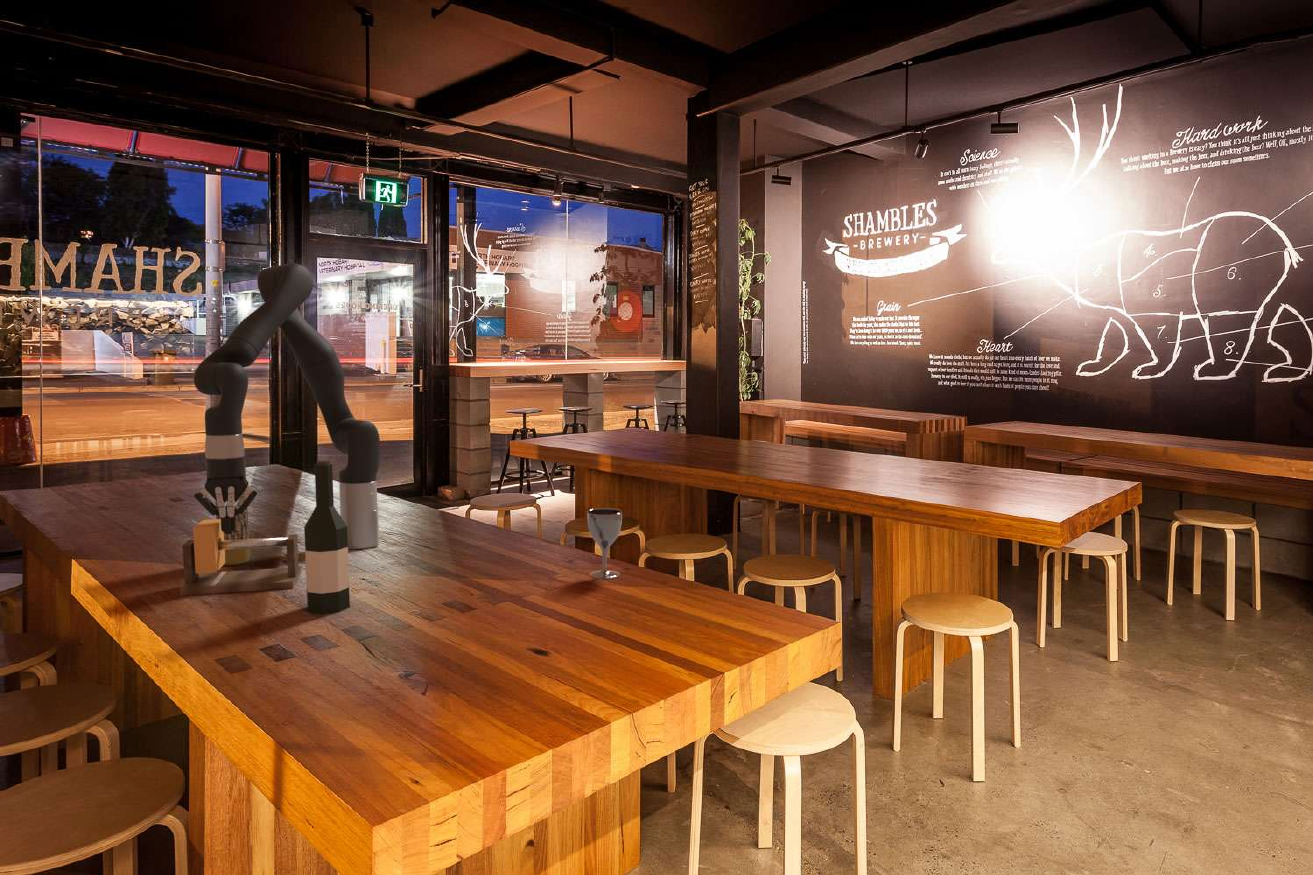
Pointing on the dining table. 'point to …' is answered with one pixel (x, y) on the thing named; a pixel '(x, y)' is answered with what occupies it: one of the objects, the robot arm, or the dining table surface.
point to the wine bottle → (326, 549)
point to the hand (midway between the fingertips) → (229, 533)
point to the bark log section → (238, 536)
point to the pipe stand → (245, 578)
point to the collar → (208, 546)
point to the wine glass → (604, 535)
